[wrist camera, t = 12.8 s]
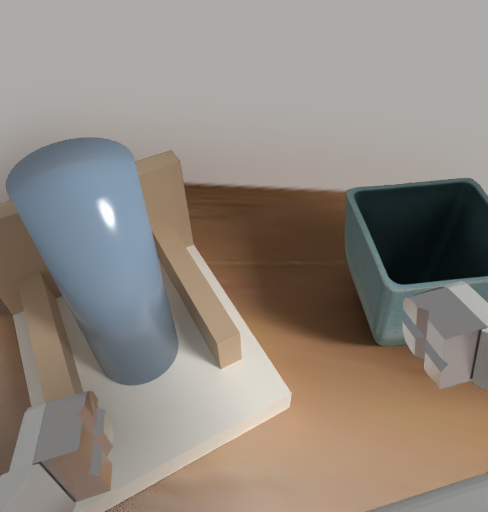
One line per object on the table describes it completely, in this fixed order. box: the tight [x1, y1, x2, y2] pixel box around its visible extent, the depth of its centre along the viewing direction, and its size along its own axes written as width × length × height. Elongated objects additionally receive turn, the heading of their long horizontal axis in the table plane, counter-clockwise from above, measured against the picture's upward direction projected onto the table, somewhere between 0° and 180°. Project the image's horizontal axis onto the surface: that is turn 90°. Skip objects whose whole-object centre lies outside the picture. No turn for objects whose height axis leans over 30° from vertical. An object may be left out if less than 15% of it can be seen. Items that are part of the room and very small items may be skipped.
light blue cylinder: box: [6, 138, 179, 385], centre depth 23 cm, size 5×5×14 cm
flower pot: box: [345, 178, 488, 346], centre depth 28 cm, size 9×9×9 cm
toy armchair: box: [0, 151, 291, 512], centre depth 26 cm, size 14×16×10 cm
